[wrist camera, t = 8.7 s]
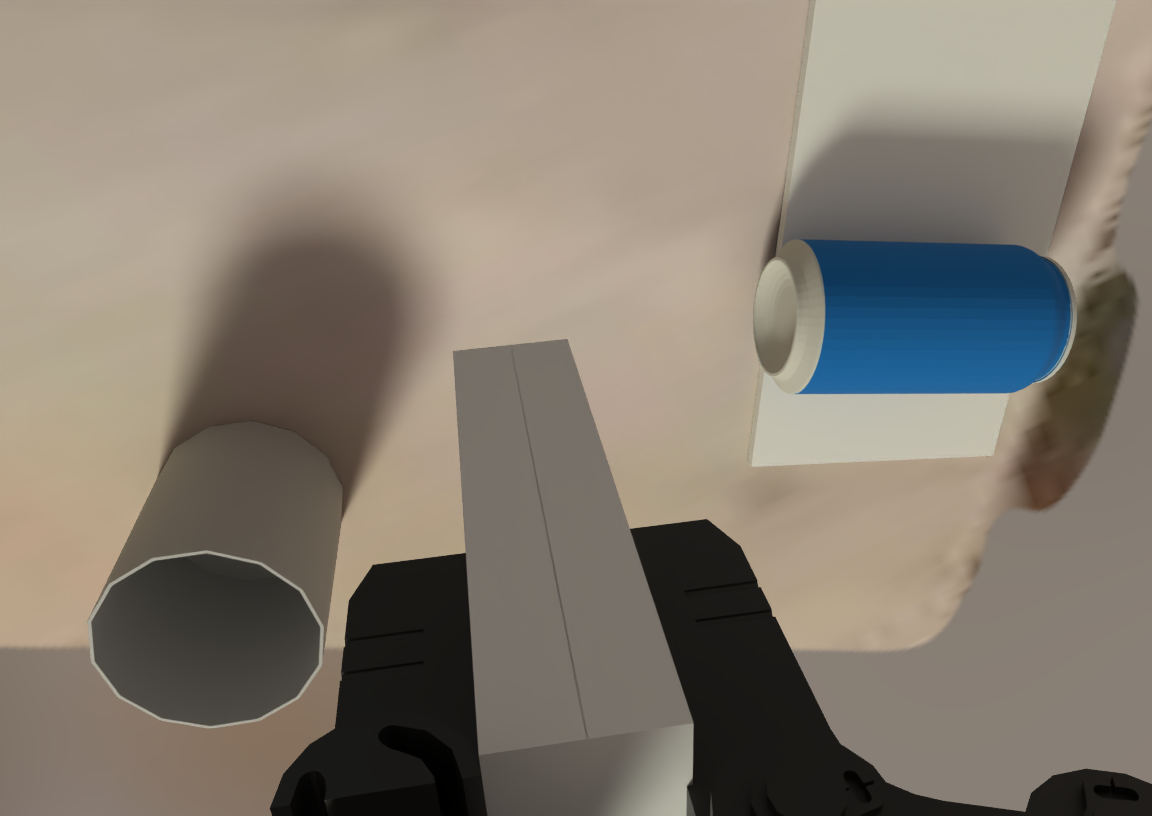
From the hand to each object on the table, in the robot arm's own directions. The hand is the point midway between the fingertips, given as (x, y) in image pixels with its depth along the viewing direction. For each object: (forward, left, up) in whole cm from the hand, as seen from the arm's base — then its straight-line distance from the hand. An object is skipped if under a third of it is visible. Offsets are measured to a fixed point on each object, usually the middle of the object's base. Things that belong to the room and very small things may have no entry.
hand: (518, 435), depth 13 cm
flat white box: (+6, +21, -27) cm, 35 cm away
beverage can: (+8, +13, -24) cm, 28 cm away
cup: (+18, -10, -28) cm, 34 cm away
